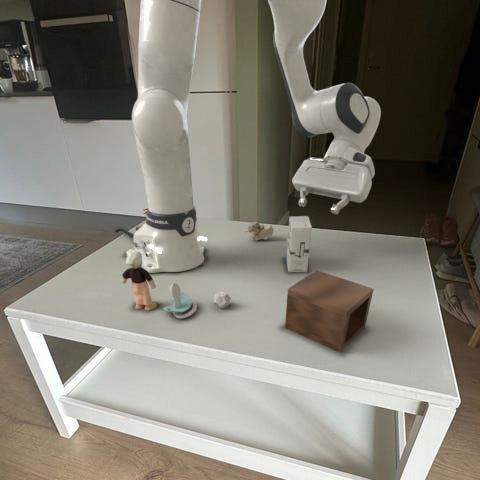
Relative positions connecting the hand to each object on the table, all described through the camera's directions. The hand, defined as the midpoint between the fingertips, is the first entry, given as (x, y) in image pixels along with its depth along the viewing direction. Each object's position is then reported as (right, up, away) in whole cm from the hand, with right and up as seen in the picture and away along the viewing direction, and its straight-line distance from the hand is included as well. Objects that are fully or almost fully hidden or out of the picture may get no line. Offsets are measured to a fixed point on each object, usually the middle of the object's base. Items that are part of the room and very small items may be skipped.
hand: (317, 208), depth 92 cm
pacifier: (-32, -27, -15) cm, 44 cm away
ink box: (-5, -14, +2) cm, 15 cm away
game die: (-23, -25, -14) cm, 37 cm away
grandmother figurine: (-40, -25, -14) cm, 50 cm away
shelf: (-3, -30, -21) cm, 37 cm away
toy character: (-14, -4, +18) cm, 23 cm away
